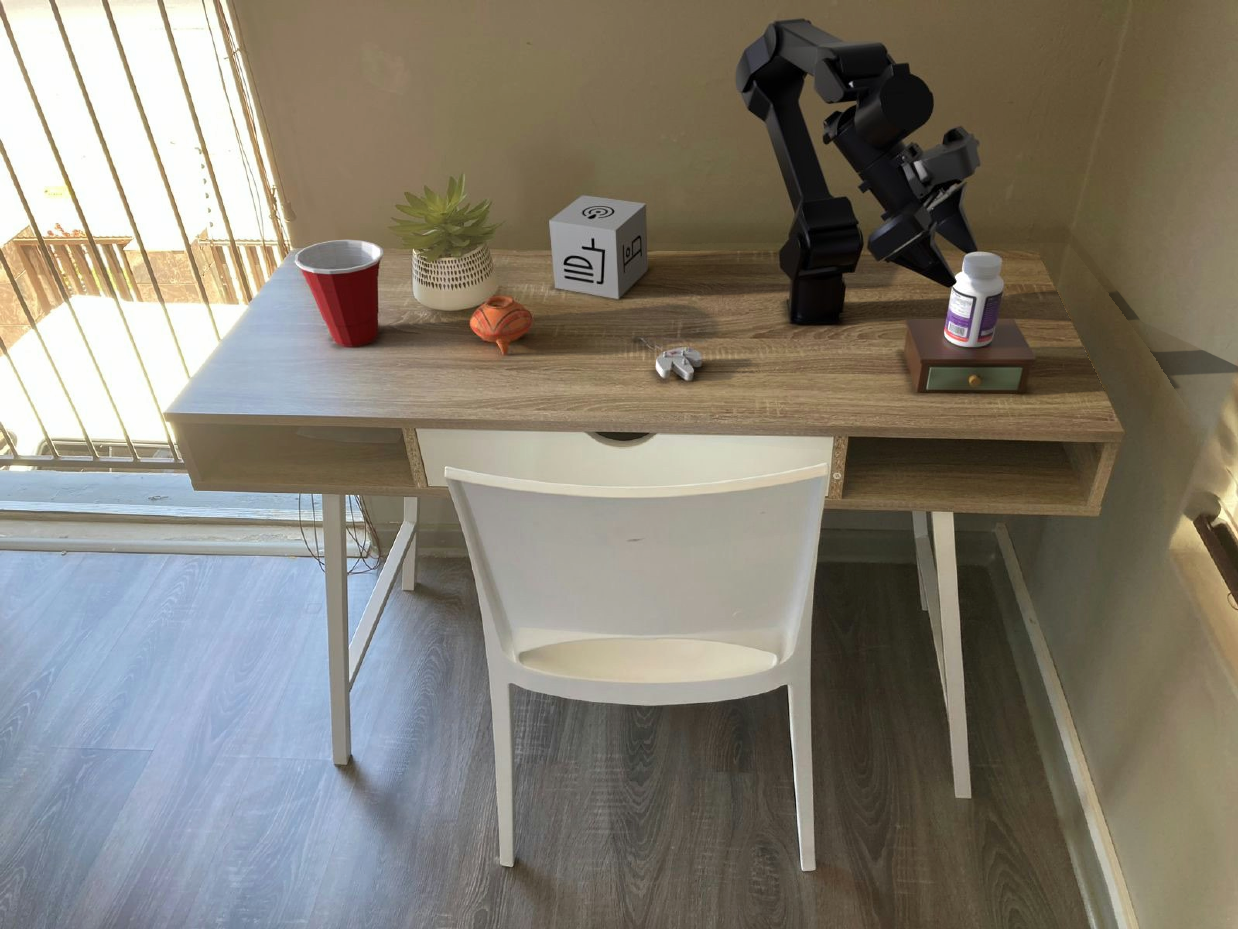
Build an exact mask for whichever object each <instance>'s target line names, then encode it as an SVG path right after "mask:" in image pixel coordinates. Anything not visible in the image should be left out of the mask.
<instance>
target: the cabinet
mask: <svg viewBox="0 0 1238 929" xmlns="http://www.w3.org/2000/svg"><path fill="white" fill-rule="evenodd" d="M946 319H947V318H906V319H905V322H904V323H905V327H906V335H905V341H904V342H905V343H904V348H903V356H904V359H905V361H906V364H907V367H908V370H909V373H910V376H911V380H912V382H913V385H914V388H915V390H916V393H931V394H932V393H934V394H935V393H945V394H946V393H947V394H949V393H952V394H953V393H955V394H957V393H959V394H960V393H961V394H962V393H963V394H964V393H965V394H967V393H968V394H970V393H973V394H974V393H975V394H978V393H979V394H982V393H984V394H986V393H987V394H989V393H990V394H1024V393H1026V392H1025V391H1026V388H1027V383H1028V379H1029V376H1030V372H1031V368H1032V365H1035V364H1036V363H1037V357H1036V356H1035V354H1034V352H1033V350H1032V348H1031V346H1030V344H1029V343H1028V342H1027V340H1026V338H1025V336H1024V334H1023V332H1022V331H1021V329H1020V327H1019V325H1018V324H1017V322H1016V320H1015V318H997V322H996V327H995V331H994V336H993V339H992V341H991V342H990V343H989V344H987V345H985V346H981V347H963V346H959V345H956V344H954V343H952V342H950V341H949V340H948V339H947V338H946V337H945V334H944V331H945V324H946Z"/></svg>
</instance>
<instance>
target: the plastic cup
mask: <svg viewBox="0 0 1238 929" xmlns="http://www.w3.org/2000/svg"><path fill="white" fill-rule="evenodd" d="M383 257H384V248H382V247H381V246H379V245H377V244H376V243H373V242H369V241H366V240H359V239H357V240H356V239H339V240H338V239H336V240H328V241H323V242H318V243H314V244H311V245H309V246H307V247H304V248H301V250H300V251H299V250H298V252H297V253H295V256H294V263H295V265H297V266H298V268H299V269H300V271H301V273H302V275H303V276H304V279H305V282H306V284H307V285H308V286H309V289H310V291H311V293H312V296H313V299H314V301H315V303H316V306H317V308H318V310H319V312H320V315H321V317H322V319H323V321H324V322H325V324H326V327H327V328H328V331H329V333H330V335H331V338H332V339H333V341H334V342H335V343H336V345H338V346H339V347H340V346H341V347H343V348H357V347H362V346H365V345H368V344H370V343H372V342H374V341H375V340H376V339H377V337H379V312H380V311H379V270H380V264H381V261H382V259H383Z"/></svg>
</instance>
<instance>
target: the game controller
mask: <svg viewBox="0 0 1238 929" xmlns="http://www.w3.org/2000/svg"><path fill="white" fill-rule="evenodd" d="M639 339H641V340H642V341H643V342H644V343H645V345H646V346H647V347H648V348H650V349H653V350H654V349H655V348H658V349H660V350H661V352H662V353H660V354H659V355H658V356H657V357H656V360H655V370H656V372H657V373H658V375H659V376H660V377H661V378H663V379H668V378H670V376H671V370H672V371H673V372H674V373H676V374H677V375H678V376H679V377H680V378H682V379H684V380H685V381H692V380H693V378H694V372H695V369H694V368H701V367H702V364H703V355H702V354H701V353H700V352H699V351H697V350H696V349H694V348H692V347H690V346H681V347H676V348H672V349H670V350H666V351H665V350H664V349H662V348H661V347H660V346H657V345H655V346H653V347H651V346H650V345H649V344H648V343H647V341H646V340H645V339H643V338H641V337H639ZM639 339H637V342H639ZM693 367H694V368H693Z"/></svg>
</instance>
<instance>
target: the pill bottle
mask: <svg viewBox="0 0 1238 929" xmlns="http://www.w3.org/2000/svg"><path fill="white" fill-rule="evenodd" d="M1002 265H1003V259H1002V257H1001V256H999V255H998V254H996V253H993V252H989V251H987V252H986V251H977V252H972V253H969V254H965V255H964V257H963V261H962V267H961V271H960V272H958V273H957V274H956V275H954V276H955V278H956V280H957V283H956V284H955V285H954V286H952V287H951V291H950V297H949V302H948V307H947V314H946V318H945V319H946V324H945V331H944V334H945V337H946V338H947V339H948V340H949V341H950V342H952V343H954V344H956V345H959V346H963V347H981V346H985V345H987V344H989V343H990V342H991V341H992V339H993V336H994V331H995V327H996V322H997V319H998V317H999V312H1000V307H1001V302H1002V297H1003V294H1004V288H1005V282H1004V280H1003V278H1002V277H1001V276H1000V274H1001V271H1002Z"/></svg>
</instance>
